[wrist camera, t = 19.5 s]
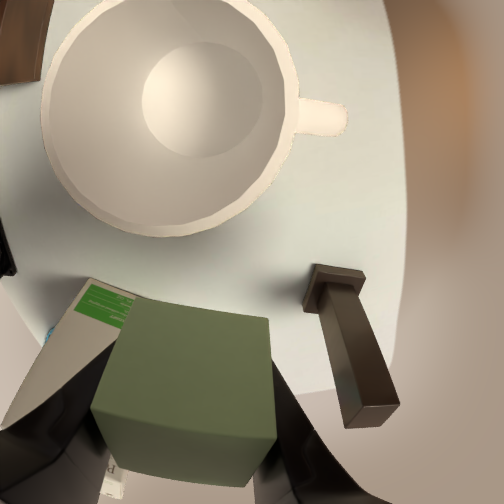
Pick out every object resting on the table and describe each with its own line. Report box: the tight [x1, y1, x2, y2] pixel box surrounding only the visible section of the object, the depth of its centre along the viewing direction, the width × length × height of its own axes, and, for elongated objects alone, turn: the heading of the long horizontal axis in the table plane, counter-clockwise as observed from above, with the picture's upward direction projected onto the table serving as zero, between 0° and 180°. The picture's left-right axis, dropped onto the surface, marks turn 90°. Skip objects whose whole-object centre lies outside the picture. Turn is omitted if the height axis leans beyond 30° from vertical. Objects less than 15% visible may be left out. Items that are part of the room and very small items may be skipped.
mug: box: [40, 0, 348, 237], centre depth 13 cm, size 11×9×10 cm
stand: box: [302, 264, 400, 429], centre depth 19 cm, size 4×4×12 cm
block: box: [90, 297, 277, 487], centre depth 8 cm, size 4×4×4 cm
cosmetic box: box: [0, 278, 141, 499], centre depth 19 cm, size 8×7×16 cm
